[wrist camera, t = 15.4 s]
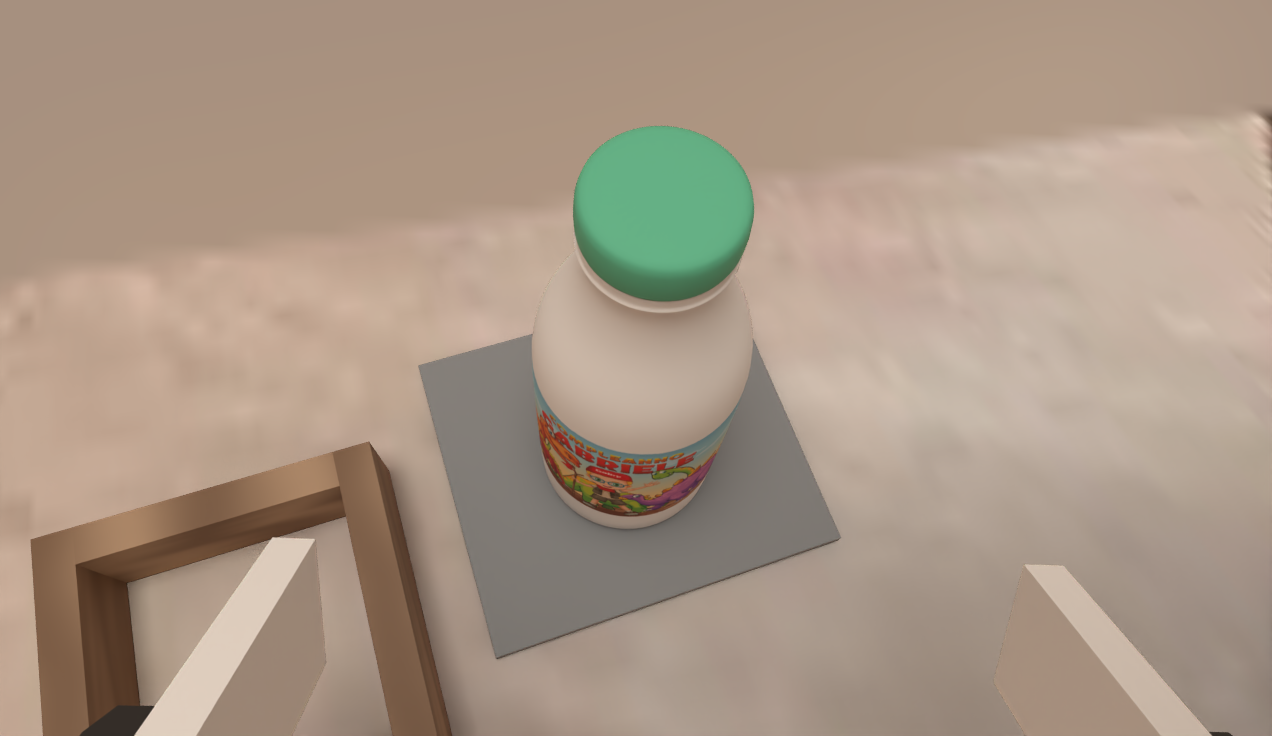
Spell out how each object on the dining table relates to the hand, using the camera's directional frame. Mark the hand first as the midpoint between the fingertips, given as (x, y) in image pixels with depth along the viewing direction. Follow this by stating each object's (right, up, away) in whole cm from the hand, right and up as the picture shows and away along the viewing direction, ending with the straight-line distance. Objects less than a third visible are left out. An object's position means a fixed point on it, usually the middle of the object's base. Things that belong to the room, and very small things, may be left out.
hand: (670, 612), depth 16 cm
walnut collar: (-16, -8, +19) cm, 26 cm away
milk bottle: (-1, +1, +24) cm, 23 cm away
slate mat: (-1, +1, +24) cm, 24 cm away
